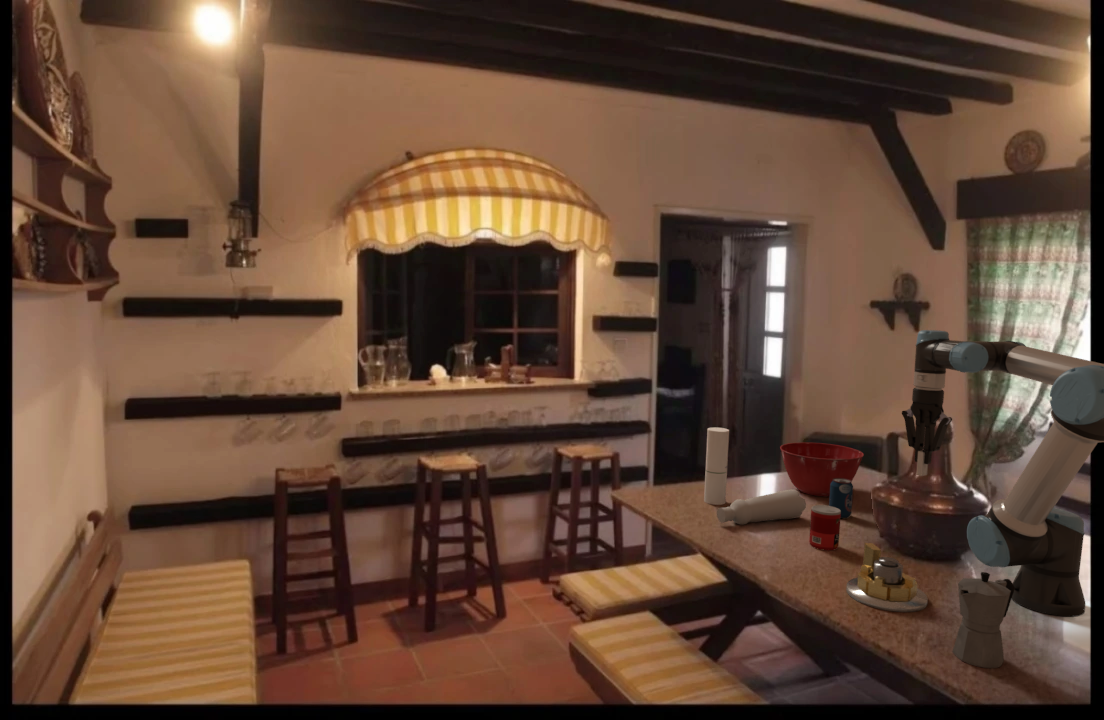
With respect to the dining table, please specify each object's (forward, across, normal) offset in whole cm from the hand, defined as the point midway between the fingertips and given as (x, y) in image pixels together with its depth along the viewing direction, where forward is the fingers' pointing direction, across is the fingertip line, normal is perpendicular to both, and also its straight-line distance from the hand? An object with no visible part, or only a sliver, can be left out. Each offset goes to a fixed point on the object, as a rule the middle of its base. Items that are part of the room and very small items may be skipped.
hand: (921, 474), depth 206 cm
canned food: (+25, -21, -11) cm, 34 cm away
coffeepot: (+25, +37, -39) cm, 59 cm away
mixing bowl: (+25, -58, +37) cm, 73 cm away
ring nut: (+23, +7, -27) cm, 36 cm away
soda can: (+25, -36, +18) cm, 47 cm away
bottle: (+25, -46, -9) cm, 53 cm away
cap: (+24, +9, -28) cm, 38 cm away
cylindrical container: (+25, -68, -6) cm, 73 cm away
